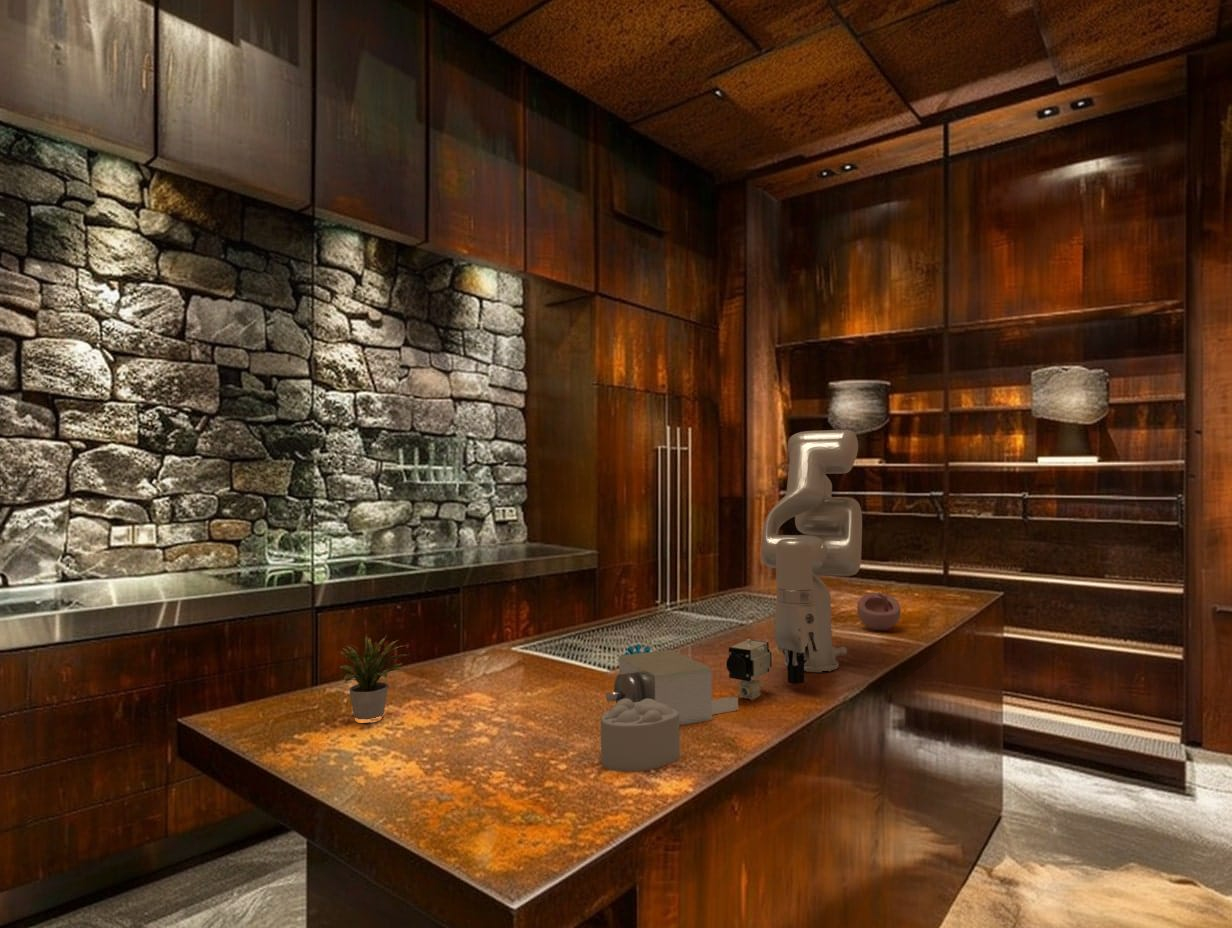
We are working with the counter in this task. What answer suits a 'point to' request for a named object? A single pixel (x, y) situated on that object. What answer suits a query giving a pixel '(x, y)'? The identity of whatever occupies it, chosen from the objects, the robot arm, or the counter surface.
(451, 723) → the counter surface
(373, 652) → the house plant
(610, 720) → the lumpy-topped squat cylinder
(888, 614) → the mortar and pestle
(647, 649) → the teal lobed piece
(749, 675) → the pneumatic valve
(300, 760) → the counter surface
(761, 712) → the counter surface
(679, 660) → the motor
